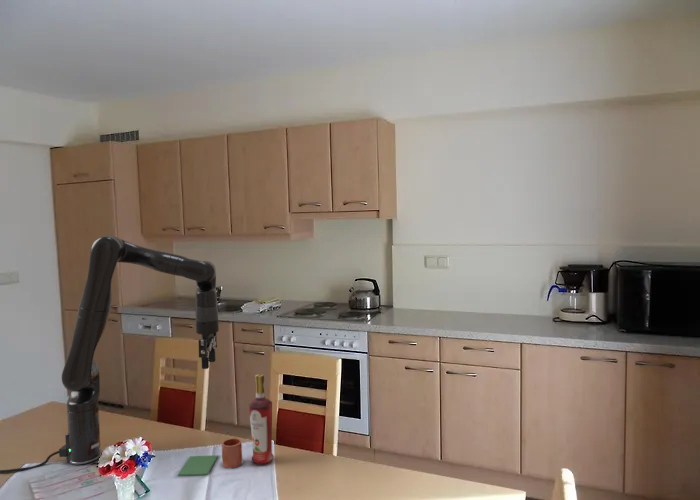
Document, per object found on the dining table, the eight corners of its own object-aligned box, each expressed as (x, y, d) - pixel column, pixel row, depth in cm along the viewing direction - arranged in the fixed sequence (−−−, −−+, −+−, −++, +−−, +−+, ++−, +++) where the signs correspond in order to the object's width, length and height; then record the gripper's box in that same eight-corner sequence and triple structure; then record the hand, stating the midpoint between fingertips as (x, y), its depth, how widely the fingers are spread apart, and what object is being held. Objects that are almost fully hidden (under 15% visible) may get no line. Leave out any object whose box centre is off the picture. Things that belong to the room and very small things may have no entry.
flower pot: (220, 468, 156) (219, 446, 155) (225, 459, 162) (224, 438, 162) (240, 468, 156) (239, 446, 155) (244, 458, 162) (243, 437, 162)
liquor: (246, 464, 158) (243, 377, 157) (258, 454, 165) (255, 371, 163) (267, 468, 155) (263, 379, 154) (278, 457, 162) (275, 373, 161)
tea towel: (178, 476, 152) (178, 474, 152) (190, 458, 164) (190, 456, 164) (207, 475, 152) (207, 473, 152) (217, 457, 164) (217, 455, 164)
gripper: (202, 315, 179) (203, 360, 179) (189, 323, 165) (191, 371, 165) (222, 315, 179) (224, 359, 180) (212, 322, 165) (214, 370, 165)
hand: (208, 365), depth 172 cm, fingers open, 8 cm apart
